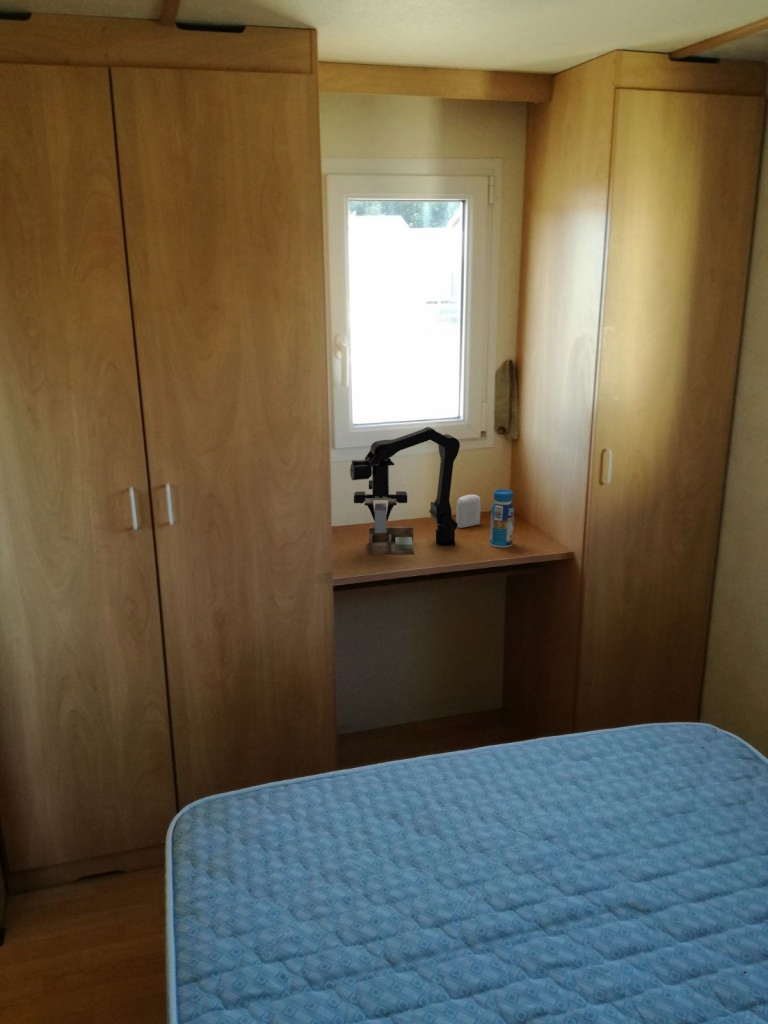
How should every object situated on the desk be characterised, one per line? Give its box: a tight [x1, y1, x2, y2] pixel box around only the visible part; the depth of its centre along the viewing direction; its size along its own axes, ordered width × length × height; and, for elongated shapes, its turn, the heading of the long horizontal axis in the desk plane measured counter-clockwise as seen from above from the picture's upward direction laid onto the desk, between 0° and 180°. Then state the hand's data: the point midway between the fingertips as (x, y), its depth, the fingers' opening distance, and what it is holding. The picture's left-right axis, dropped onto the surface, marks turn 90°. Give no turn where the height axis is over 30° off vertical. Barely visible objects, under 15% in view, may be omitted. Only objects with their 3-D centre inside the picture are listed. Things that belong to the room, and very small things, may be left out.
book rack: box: [368, 526, 415, 555], centre depth 281 cm, size 16×12×6 cm
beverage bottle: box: [489, 488, 515, 549], centre depth 283 cm, size 8×8×20 cm
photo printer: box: [455, 494, 482, 529], centre depth 305 cm, size 10×4×12 cm, turn 123°
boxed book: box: [374, 502, 388, 533], centre depth 278 cm, size 4×9×8 cm, turn 0°
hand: (380, 520), depth 278 cm, fingers closed on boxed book, 4 cm apart
